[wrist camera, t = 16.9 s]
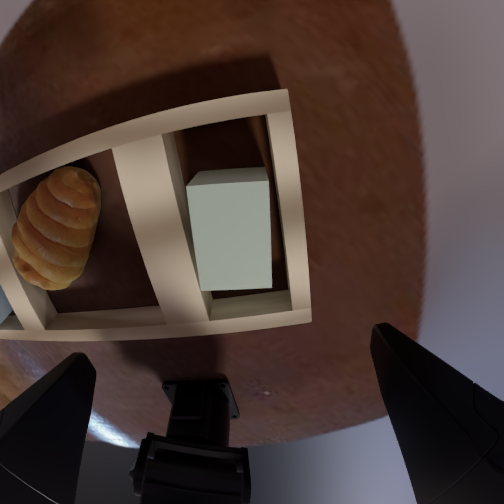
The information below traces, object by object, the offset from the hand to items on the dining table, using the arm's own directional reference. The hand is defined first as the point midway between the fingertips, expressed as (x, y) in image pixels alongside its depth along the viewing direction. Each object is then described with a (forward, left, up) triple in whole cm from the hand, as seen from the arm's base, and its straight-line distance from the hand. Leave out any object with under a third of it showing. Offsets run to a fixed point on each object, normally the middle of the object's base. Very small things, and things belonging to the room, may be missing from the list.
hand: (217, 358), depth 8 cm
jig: (0, +12, -12) cm, 17 cm away
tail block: (0, 0, -12) cm, 12 cm away
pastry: (+2, +13, -12) cm, 18 cm away
